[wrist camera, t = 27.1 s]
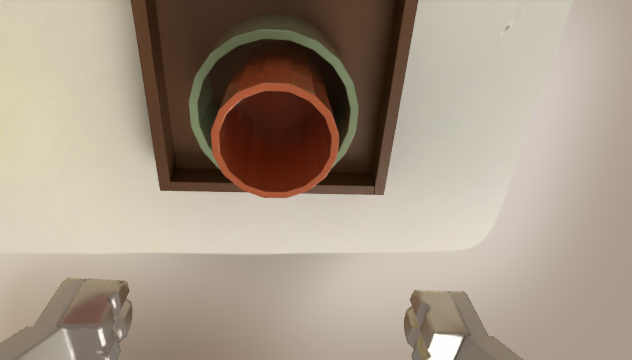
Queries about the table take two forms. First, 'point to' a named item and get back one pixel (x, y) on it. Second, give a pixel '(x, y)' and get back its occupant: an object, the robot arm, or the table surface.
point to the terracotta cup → (275, 123)
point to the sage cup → (277, 29)
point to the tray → (237, 5)
